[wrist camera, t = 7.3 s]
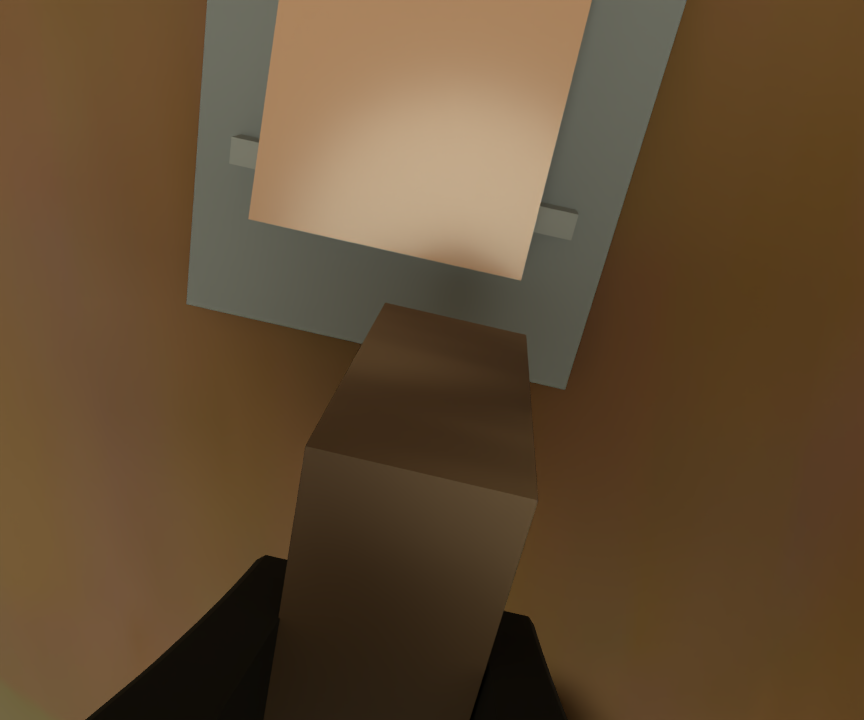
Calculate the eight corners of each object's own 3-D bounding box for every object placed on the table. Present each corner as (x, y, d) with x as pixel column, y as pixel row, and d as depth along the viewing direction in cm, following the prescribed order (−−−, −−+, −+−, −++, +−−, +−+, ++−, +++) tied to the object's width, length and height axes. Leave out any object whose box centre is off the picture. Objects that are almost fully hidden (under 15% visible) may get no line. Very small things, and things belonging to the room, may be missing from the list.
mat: (772, -288, 13) (792, -315, 12) (563, 383, 19) (566, 400, 18) (243, -405, 13) (223, -440, 12) (192, 299, 19) (176, 311, 18)
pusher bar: (526, 334, 12) (537, 499, 7) (439, 651, 14) (406, 923, 10) (384, 302, 12) (304, 446, 7) (323, 624, 14) (237, 881, 10)
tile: (518, 272, 16) (595, -37, 15) (521, 280, 15) (605, -54, 13) (264, 215, 16) (310, -100, 15) (248, 219, 15) (295, -122, 13)
